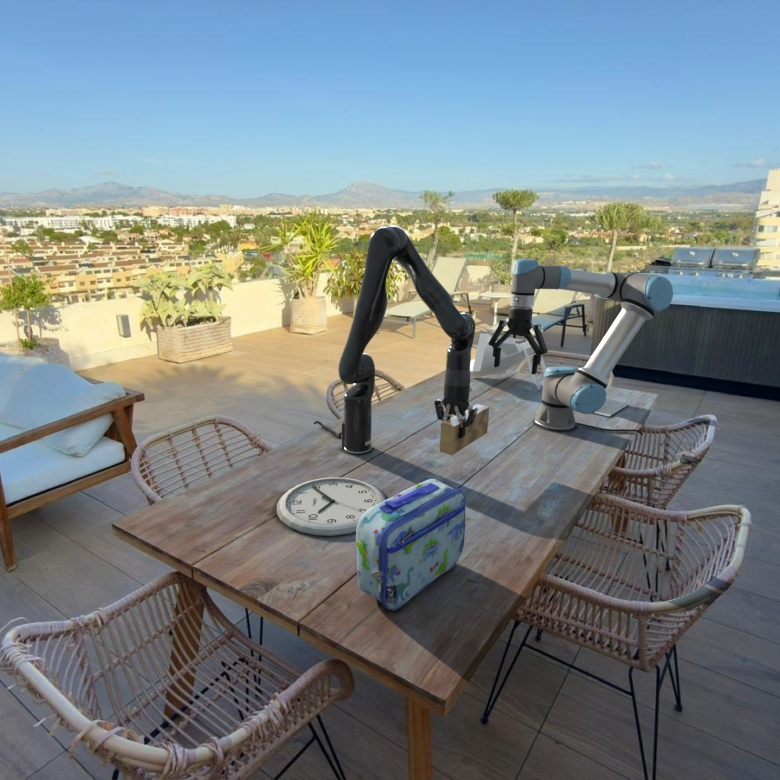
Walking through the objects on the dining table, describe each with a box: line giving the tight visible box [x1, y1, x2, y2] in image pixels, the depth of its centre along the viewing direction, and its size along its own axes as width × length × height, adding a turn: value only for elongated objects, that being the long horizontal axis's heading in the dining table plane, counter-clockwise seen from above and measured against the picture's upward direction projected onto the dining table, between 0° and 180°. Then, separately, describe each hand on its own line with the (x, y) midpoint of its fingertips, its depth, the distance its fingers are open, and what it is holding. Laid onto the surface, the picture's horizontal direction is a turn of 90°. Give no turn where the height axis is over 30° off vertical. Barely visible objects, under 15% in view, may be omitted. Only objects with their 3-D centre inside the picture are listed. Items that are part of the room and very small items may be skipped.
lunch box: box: [355, 478, 466, 611], centre depth 110 cm, size 26×11×21 cm, turn 134°
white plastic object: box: [470, 333, 548, 391], centre depth 259 cm, size 37×45×31 cm
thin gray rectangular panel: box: [593, 399, 629, 418], centre depth 226 cm, size 21×1×15 cm
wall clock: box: [276, 476, 387, 537], centre depth 142 cm, size 30×2×30 cm
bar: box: [439, 403, 490, 456], centre depth 164 cm, size 23×4×9 cm, turn 143°
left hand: (453, 435), depth 158 cm, fingers closed on bar, 4 cm apart
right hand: (514, 370), depth 178 cm, fingers open, 13 cm apart
